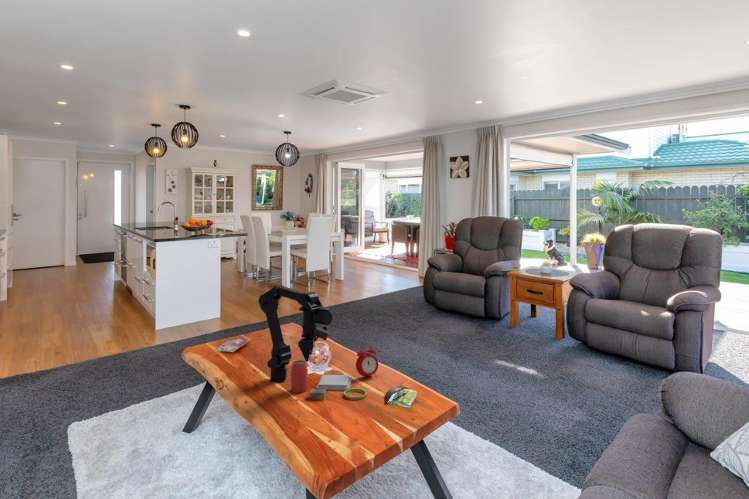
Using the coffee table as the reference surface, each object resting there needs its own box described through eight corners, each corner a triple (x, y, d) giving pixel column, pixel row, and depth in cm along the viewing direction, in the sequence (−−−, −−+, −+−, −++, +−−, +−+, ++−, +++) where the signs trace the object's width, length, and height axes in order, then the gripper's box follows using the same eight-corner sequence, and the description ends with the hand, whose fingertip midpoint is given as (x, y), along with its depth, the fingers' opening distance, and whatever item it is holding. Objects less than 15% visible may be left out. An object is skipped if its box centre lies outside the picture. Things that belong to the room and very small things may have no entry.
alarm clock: (360, 381, 187) (360, 348, 186) (354, 376, 193) (354, 344, 192) (380, 377, 192) (380, 345, 191) (374, 373, 197) (374, 342, 197)
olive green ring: (371, 413, 170) (371, 392, 170) (353, 420, 164) (353, 398, 164) (356, 406, 177) (356, 386, 177) (338, 412, 171) (339, 391, 170)
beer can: (293, 394, 171) (293, 365, 170) (289, 389, 176) (289, 361, 176) (309, 391, 174) (309, 363, 173) (304, 386, 179) (304, 359, 179)
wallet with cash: (403, 401, 180) (404, 382, 180) (409, 403, 178) (410, 384, 177) (381, 412, 168) (382, 391, 168) (387, 414, 166) (388, 394, 166)
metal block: (309, 399, 166) (309, 392, 166) (311, 395, 170) (311, 388, 170) (324, 400, 166) (324, 392, 165) (325, 396, 170) (325, 389, 169)
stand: (316, 389, 176) (316, 385, 176) (321, 378, 190) (321, 374, 190) (348, 390, 175) (349, 386, 175) (351, 379, 189) (351, 374, 189)
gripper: (326, 327, 167) (325, 365, 168) (330, 317, 186) (329, 352, 187) (298, 326, 167) (297, 365, 168) (305, 317, 186) (305, 351, 186)
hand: (308, 358), depth 177 cm, fingers open, 9 cm apart
